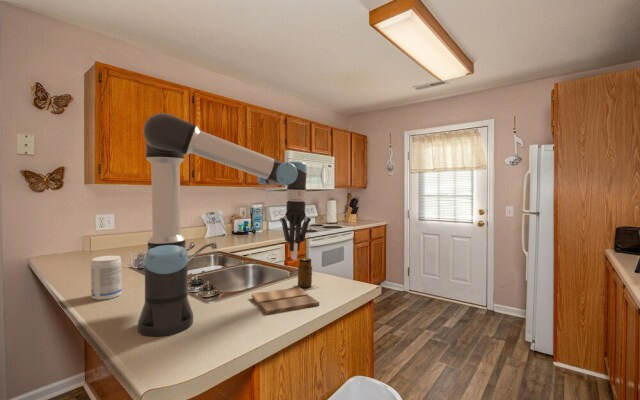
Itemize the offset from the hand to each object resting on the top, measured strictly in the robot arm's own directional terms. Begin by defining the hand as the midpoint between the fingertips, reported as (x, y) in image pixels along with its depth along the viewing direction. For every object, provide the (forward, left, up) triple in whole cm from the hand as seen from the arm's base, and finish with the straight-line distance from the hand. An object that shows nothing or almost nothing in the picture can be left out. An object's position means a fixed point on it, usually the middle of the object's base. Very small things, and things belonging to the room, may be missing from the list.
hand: (294, 259), depth 127 cm
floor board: (-7, -12, -14) cm, 20 cm away
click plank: (-7, -3, -14) cm, 15 cm away
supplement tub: (-66, +26, -14) cm, 72 cm away
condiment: (+8, +6, -14) cm, 18 cm away
